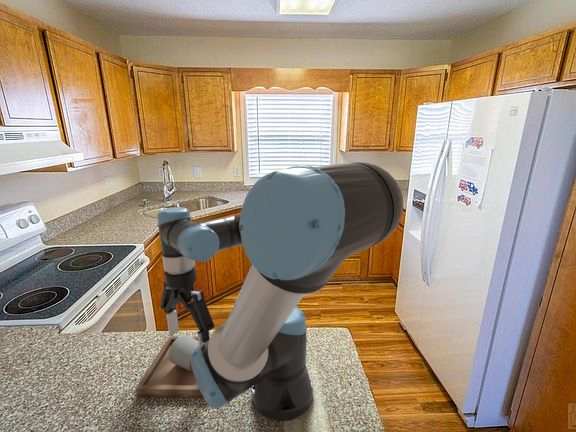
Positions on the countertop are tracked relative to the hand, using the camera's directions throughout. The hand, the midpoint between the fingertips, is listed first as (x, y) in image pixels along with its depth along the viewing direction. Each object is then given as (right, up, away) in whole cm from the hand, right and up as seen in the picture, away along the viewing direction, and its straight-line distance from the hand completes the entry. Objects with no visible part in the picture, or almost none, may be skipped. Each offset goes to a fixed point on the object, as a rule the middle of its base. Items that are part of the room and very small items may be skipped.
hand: (188, 341), depth 79 cm
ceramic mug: (0, -7, +3) cm, 8 cm away
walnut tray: (0, -8, +2) cm, 9 cm away
